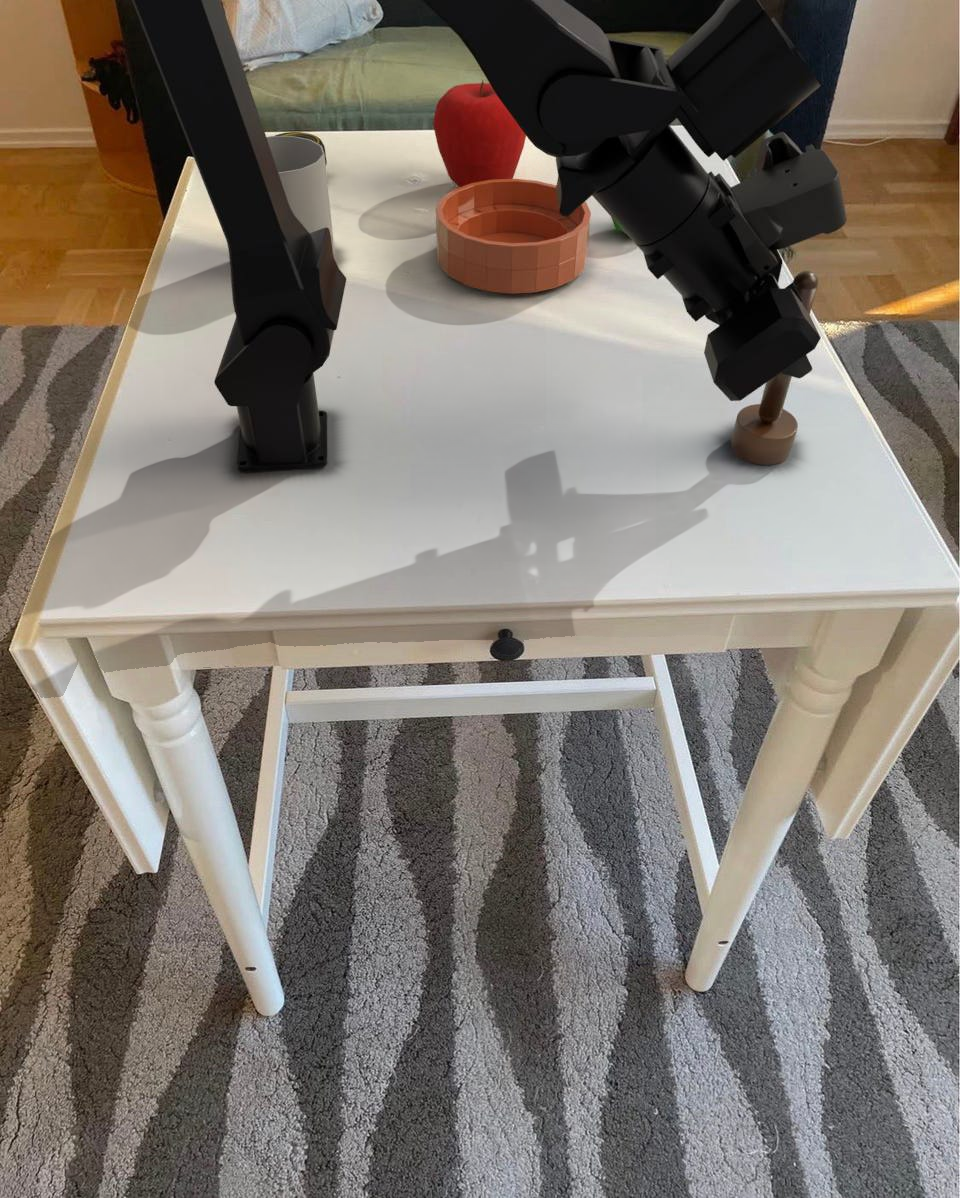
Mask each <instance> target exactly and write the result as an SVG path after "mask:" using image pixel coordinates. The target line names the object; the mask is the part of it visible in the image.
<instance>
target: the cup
mask: <svg viewBox="0 0 960 1198" xmlns="http://www.w3.org/2000/svg"><path fill="white" fill-rule="evenodd" d="M266 138H267V141H268V144H269V147H270V150H271V153H272V155H273V158H274V161H275V164H276V167H277V170H278V173H279V176H280V179H281V182H282V185H283V188H284V191H285V194H286V197H287V200H288V203H289V206H290V208H291V210H292V212H293V214H294V215H295V217H296V218H297V219H298V220H299V221H300V223H301V224H302V225H303V226H304V227H305V229H306V230H307V231H308V232H309V233H312V232H314V231H317V230H320V229H322V228H325V227H327V228H329V231H330V235H331V241H332V249H333V255H334V259H335V261H336V251H335V250H336V249H335V242H334V233H333V223H332V221H333V220H332V213H331V212H332V211H331V204H330V202H331V201H330V194H329V185H328V184H329V183H328V175H327V174H328V173H327V165H326V163H325V154H324V151H323V148H322V146H321V145H319V144H317V143H316V142H314V141H312V140H310V139H305V138H300V137H294V136H275V135H270V136H266ZM336 262H337V261H336Z"/></svg>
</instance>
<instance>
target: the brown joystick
mask: <svg viewBox="0 0 960 1198" xmlns="http://www.w3.org/2000/svg"><path fill="white" fill-rule="evenodd" d="M792 282H793V283H794V285H795V287H796V289H797V291H798V293H799V295H800V297H801V299H802V302H803V306H804V307H805V309H806V310H807V312H808V313H809V315H810V316H811V311H812V307H813V304H814V301H815V298H816V294H817V290H818V287H819V278H818V275H816V274H815V273H814V272H813V271H811V270H802V271H800V272H798V273H797V274H796V275H795V276H794V278H793V280H792ZM792 378H793V377H792V376H789V375H785V374H782V373H779V374H778V375H777V376H775V377H774V378H772V379H771V380H769V381H768V382H767V383H765V384H764V389H763V392H762V397H761V401H760V403H755V404H750V405H746V406H744V407H743V408H742V409H740V410H739V411H738V413H737V415H736V418H735V422H734V427H733V431H732V435H731V438H730V447H731V449H732V451H733V452H734V454H735V455H736V456H737V457H739V458H740V459H742V460H743V461H745V462H748V463H751V464H755V465H761V466H773V465H777V464H781V463H783V462H784V461H786V460H787V459H788V458H789V456H790V454H791V451H792V448H793V445H794V441H795V438H796V435H797V433H798V428H799V423H798V421H797V418H796V417H795V416H794V415H793V414H792V413H790V412H789V411H788V410H786V409H784V406H785V402H786V398H787V394H788V391H789V388H790V384H791V381H792Z"/></svg>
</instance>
